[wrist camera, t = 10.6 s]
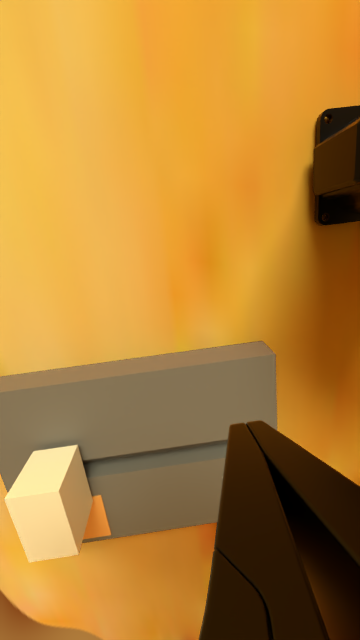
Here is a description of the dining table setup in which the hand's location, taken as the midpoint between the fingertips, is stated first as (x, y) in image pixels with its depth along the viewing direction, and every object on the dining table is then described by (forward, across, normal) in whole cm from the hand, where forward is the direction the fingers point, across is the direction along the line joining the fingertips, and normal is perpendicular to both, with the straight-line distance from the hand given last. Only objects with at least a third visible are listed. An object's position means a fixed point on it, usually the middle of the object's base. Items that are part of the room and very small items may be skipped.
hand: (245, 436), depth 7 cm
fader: (+12, +11, +10) cm, 19 cm away
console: (+13, +5, +10) cm, 17 cm away
